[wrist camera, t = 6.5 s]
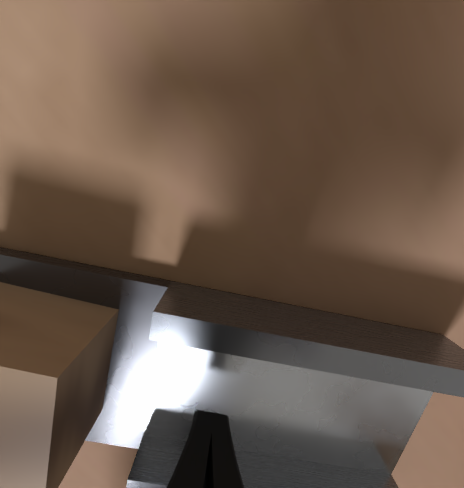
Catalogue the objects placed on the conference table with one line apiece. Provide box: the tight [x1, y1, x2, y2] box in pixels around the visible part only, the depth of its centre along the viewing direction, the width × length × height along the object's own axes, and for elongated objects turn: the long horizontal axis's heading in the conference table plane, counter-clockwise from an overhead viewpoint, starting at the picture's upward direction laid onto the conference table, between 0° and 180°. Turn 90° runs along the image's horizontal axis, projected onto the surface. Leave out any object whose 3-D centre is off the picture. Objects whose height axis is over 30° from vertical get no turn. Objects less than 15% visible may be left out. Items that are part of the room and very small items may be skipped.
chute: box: [0, 247, 464, 488], centre depth 11 cm, size 10×24×3 cm, turn 78°
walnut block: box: [0, 282, 119, 488], centre depth 10 cm, size 6×6×4 cm
